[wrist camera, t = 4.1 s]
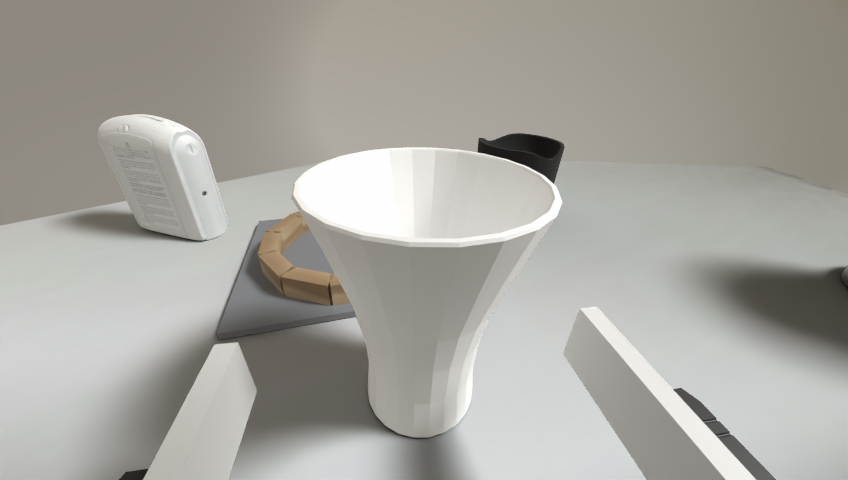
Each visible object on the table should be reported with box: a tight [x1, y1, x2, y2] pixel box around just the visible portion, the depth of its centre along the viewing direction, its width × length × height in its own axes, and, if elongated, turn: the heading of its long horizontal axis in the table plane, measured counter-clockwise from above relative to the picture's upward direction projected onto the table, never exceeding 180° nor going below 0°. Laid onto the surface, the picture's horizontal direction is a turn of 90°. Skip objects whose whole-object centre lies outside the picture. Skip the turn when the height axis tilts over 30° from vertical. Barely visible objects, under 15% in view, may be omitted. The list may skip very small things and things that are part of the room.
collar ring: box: [258, 212, 351, 306], centre depth 31 cm, size 16×16×2 cm
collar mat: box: [216, 219, 356, 340], centre depth 32 cm, size 20×18×1 cm
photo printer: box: [98, 114, 228, 240], centre depth 33 cm, size 10×4×12 cm, turn 74°
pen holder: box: [478, 133, 564, 184], centre depth 38 cm, size 9×9×10 cm
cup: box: [292, 147, 562, 437], centre depth 16 cm, size 10×10×14 cm
